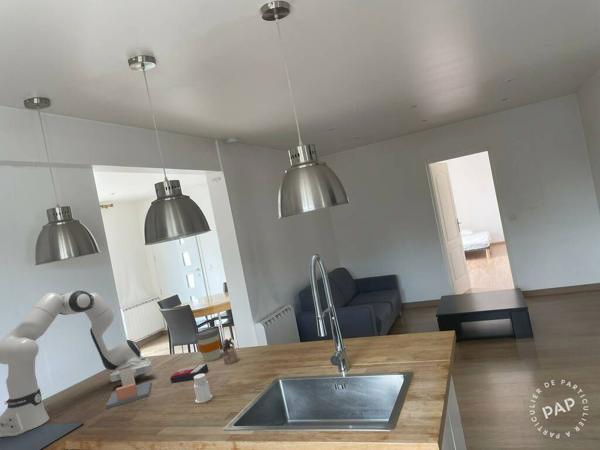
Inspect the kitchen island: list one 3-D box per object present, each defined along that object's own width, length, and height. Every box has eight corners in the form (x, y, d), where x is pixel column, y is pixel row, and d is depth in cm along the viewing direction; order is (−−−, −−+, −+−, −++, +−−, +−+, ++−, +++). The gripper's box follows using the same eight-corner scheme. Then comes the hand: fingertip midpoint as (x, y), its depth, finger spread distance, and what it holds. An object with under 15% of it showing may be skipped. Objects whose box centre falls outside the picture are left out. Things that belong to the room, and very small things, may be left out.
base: (106, 408, 195) (103, 394, 195) (113, 395, 213) (110, 382, 213) (148, 396, 200) (145, 382, 200) (151, 384, 217) (148, 371, 217)
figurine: (226, 360, 230) (221, 338, 229) (239, 358, 229) (234, 335, 229) (223, 365, 222) (218, 342, 222) (236, 362, 222) (231, 339, 222)
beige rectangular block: (123, 393, 206) (118, 369, 206) (125, 390, 210) (119, 366, 210) (135, 390, 208) (130, 365, 207) (136, 387, 212) (131, 363, 212)
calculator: (179, 368, 223) (206, 362, 220) (182, 376, 223) (209, 370, 220) (169, 376, 212) (197, 370, 209) (171, 385, 212) (199, 379, 209)
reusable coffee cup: (213, 362, 231) (207, 334, 231) (196, 362, 238) (190, 335, 238) (228, 353, 242) (222, 327, 242) (212, 354, 249) (206, 328, 249)
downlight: (191, 401, 182) (187, 377, 181) (206, 393, 186) (202, 371, 186) (200, 405, 176) (196, 381, 175) (216, 398, 180) (211, 374, 180)
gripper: (111, 368, 228) (106, 375, 215) (151, 357, 233) (149, 363, 220) (113, 380, 228) (109, 388, 215) (154, 368, 233) (152, 376, 220)
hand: (130, 375), depth 217 cm, fingers closed
